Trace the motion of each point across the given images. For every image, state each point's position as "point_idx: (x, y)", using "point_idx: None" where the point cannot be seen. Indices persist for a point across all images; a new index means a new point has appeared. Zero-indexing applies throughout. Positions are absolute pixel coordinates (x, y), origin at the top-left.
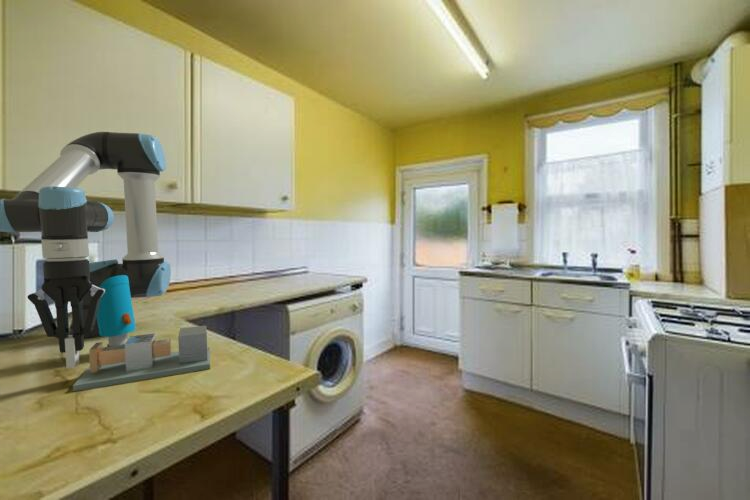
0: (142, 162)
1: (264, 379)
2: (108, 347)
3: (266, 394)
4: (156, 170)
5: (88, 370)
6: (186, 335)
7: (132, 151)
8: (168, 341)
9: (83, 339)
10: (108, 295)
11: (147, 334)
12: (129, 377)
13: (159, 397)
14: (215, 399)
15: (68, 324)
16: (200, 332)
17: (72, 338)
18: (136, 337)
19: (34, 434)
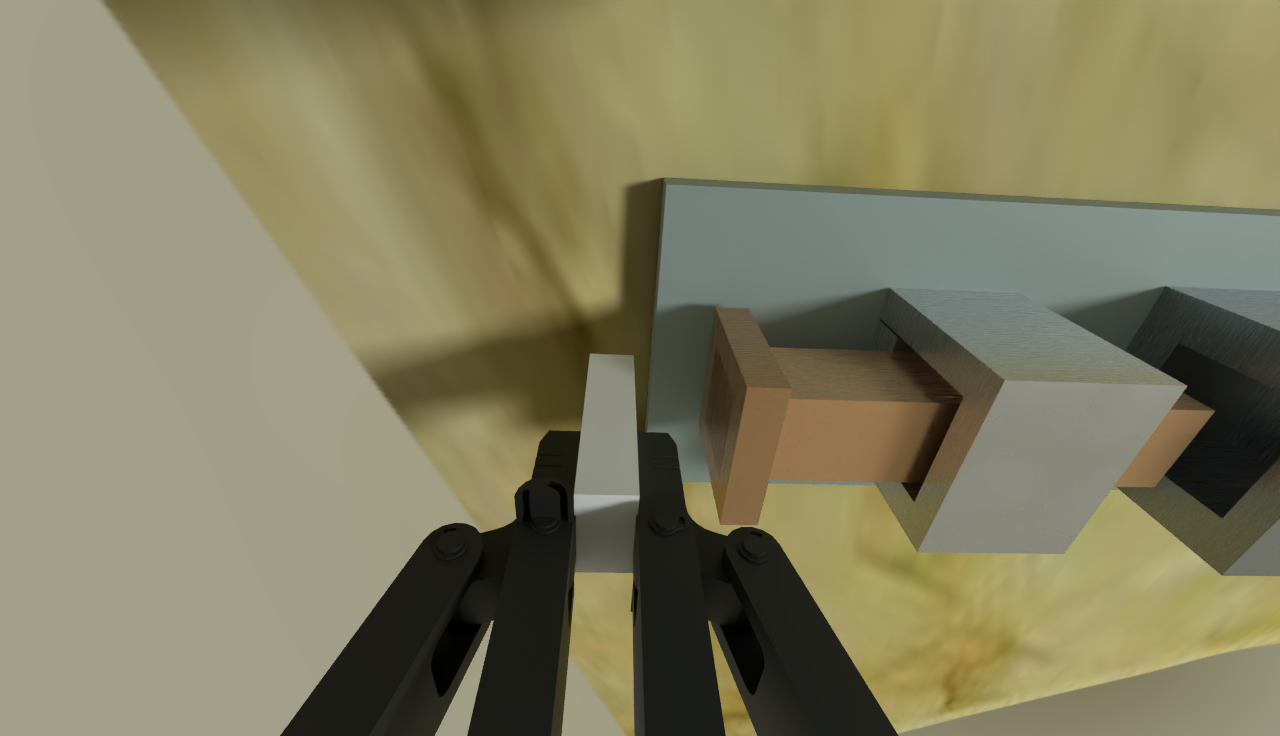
0: None
1: (1192, 615)
2: (816, 415)
3: (1119, 677)
4: None
5: (669, 313)
6: (1271, 574)
7: None
8: (1164, 463)
9: (682, 489)
10: None
11: (1129, 391)
12: (846, 481)
13: (897, 605)
14: (1010, 659)
15: (564, 603)
16: None
17: (626, 572)
18: (1028, 436)
19: (619, 654)
